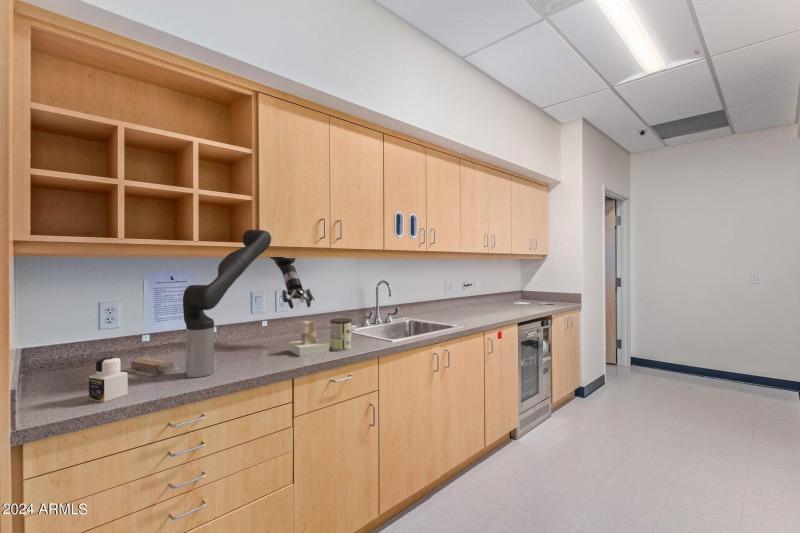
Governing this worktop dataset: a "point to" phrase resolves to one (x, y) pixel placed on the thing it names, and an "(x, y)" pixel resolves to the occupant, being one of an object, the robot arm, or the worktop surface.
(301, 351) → the sage plinth
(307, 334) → the birch block
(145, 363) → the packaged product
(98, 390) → the medicine bottle
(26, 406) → the worktop surface
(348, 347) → the coffee can
